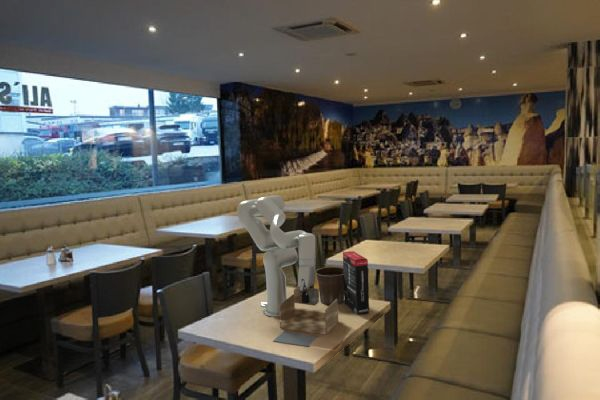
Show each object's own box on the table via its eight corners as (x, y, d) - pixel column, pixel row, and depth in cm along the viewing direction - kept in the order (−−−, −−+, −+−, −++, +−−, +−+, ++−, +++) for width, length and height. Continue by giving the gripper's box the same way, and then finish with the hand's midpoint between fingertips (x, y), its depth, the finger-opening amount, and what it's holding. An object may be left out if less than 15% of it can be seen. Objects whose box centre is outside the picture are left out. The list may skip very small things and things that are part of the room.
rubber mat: (273, 341, 189) (273, 340, 189) (283, 332, 198) (283, 331, 198) (308, 347, 183) (308, 346, 183) (317, 337, 192) (317, 336, 192)
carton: (278, 330, 201) (277, 305, 200) (295, 315, 217) (294, 293, 216) (325, 336, 192) (324, 311, 191) (339, 321, 209) (338, 297, 207)
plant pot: (335, 309, 224) (334, 277, 222) (309, 302, 234) (308, 272, 232) (353, 300, 236) (353, 269, 234) (328, 294, 247) (328, 265, 245)
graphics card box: (370, 314, 216) (369, 257, 212) (356, 316, 214) (355, 259, 211) (355, 302, 232) (354, 250, 229) (343, 304, 230) (341, 251, 227)
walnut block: (294, 302, 204) (293, 289, 203) (298, 299, 209) (298, 286, 208) (314, 305, 200) (314, 292, 199) (319, 301, 205) (318, 288, 204)
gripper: (306, 255, 211) (307, 293, 213) (291, 265, 195) (292, 306, 198) (321, 257, 208) (322, 295, 210) (307, 267, 192) (308, 308, 195)
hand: (307, 300), depth 204 cm, fingers closed on walnut block, 5 cm apart
